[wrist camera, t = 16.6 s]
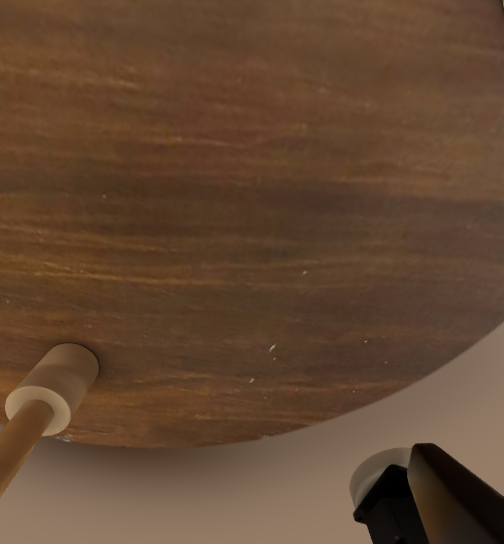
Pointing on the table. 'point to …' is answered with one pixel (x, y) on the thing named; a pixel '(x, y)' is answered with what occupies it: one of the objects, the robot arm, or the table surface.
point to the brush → (44, 403)
